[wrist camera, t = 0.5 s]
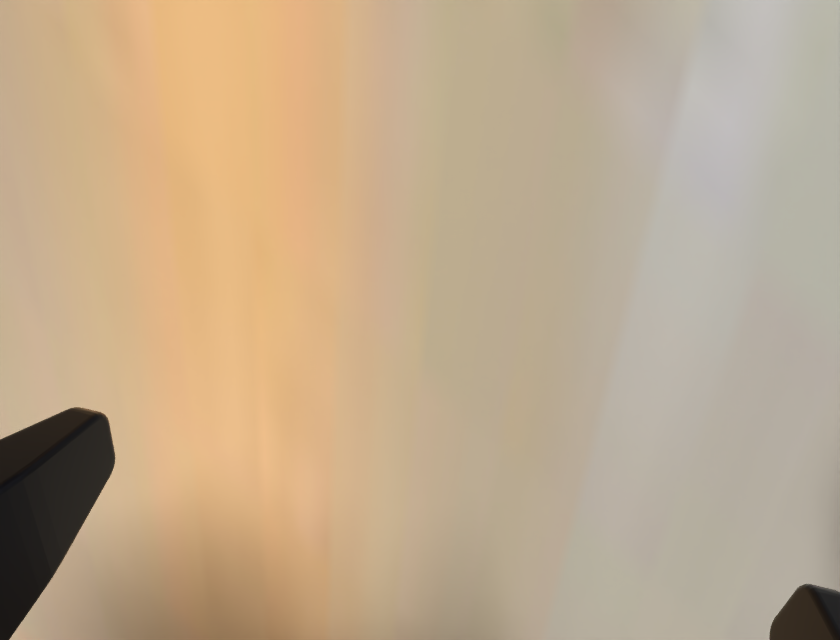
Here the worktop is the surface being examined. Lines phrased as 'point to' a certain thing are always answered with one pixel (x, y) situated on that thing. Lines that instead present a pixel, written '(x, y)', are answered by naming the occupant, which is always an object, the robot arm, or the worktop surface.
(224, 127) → the worktop surface
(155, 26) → the worktop surface
